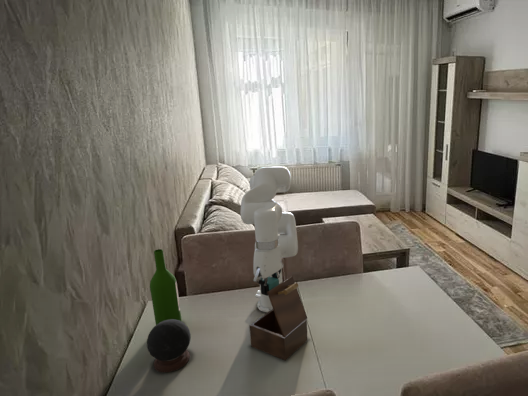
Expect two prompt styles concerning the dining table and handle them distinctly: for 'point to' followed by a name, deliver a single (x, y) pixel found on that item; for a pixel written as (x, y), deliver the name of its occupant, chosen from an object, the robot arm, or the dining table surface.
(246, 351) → the dining table surface
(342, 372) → the dining table surface
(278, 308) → the chest lid
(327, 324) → the dining table surface
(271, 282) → the block
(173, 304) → the wine bottle
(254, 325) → the chest
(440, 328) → the dining table surface
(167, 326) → the ball on stand
